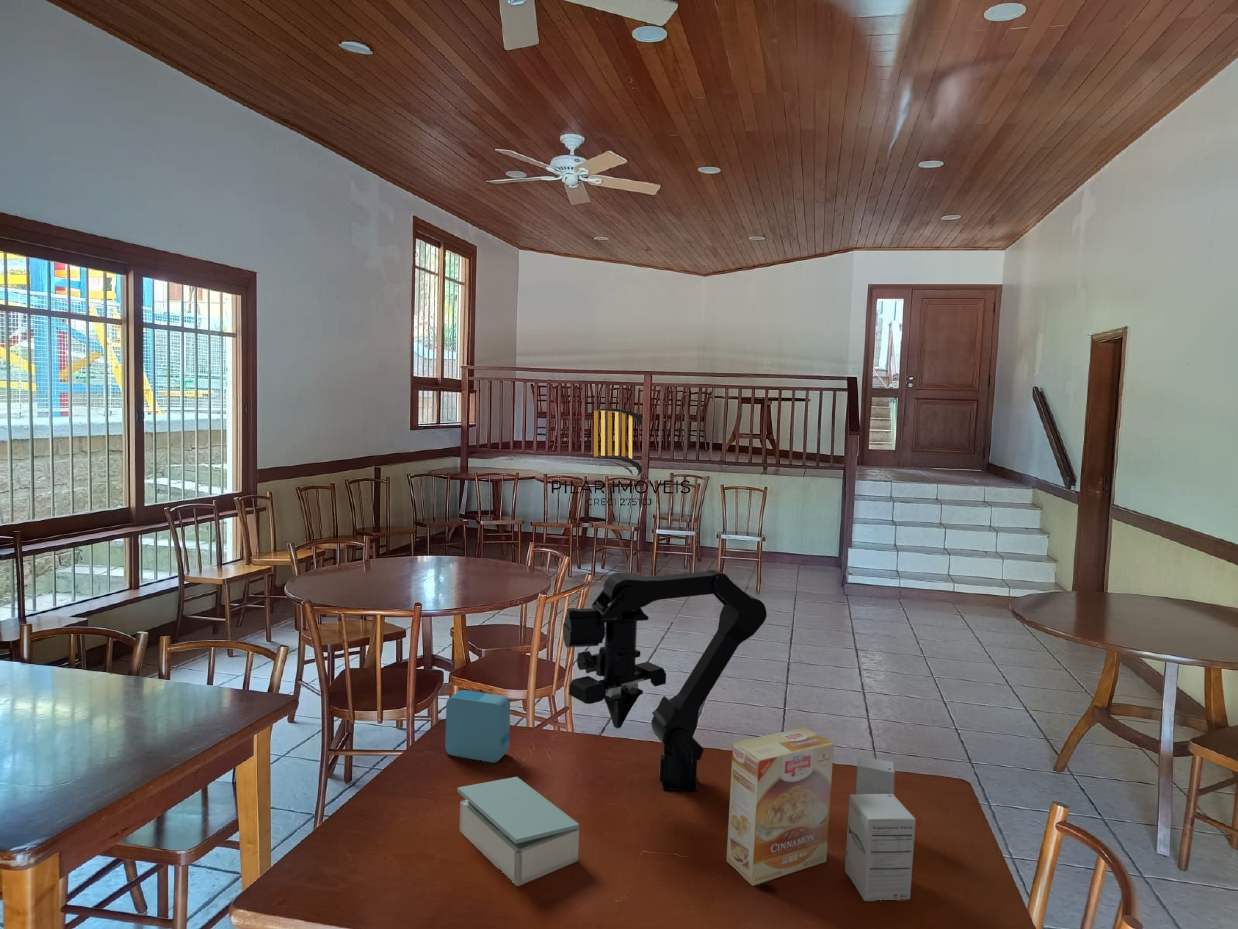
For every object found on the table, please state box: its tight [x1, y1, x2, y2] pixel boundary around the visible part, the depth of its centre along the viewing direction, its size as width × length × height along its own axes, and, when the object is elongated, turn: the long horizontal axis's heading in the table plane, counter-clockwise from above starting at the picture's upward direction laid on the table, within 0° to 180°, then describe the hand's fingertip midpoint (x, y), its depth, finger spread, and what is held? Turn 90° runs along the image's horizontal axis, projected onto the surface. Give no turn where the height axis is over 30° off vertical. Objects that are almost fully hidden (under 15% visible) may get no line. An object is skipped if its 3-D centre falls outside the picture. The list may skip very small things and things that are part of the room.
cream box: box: [459, 799, 580, 887], centre depth 121 cm, size 11×18×5 cm, turn 39°
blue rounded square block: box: [445, 689, 511, 764], centre depth 151 cm, size 12×4×12 cm, turn 74°
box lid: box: [456, 776, 580, 844], centre depth 120 cm, size 11×18×1 cm, turn 39°
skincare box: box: [855, 755, 896, 795], centre depth 128 cm, size 6×4×12 cm
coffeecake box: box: [726, 726, 835, 887], centre depth 118 cm, size 15×7×20 cm, turn 117°
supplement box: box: [844, 793, 917, 902], centre depth 113 cm, size 7×7×13 cm
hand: (617, 727), depth 138 cm, fingers closed
